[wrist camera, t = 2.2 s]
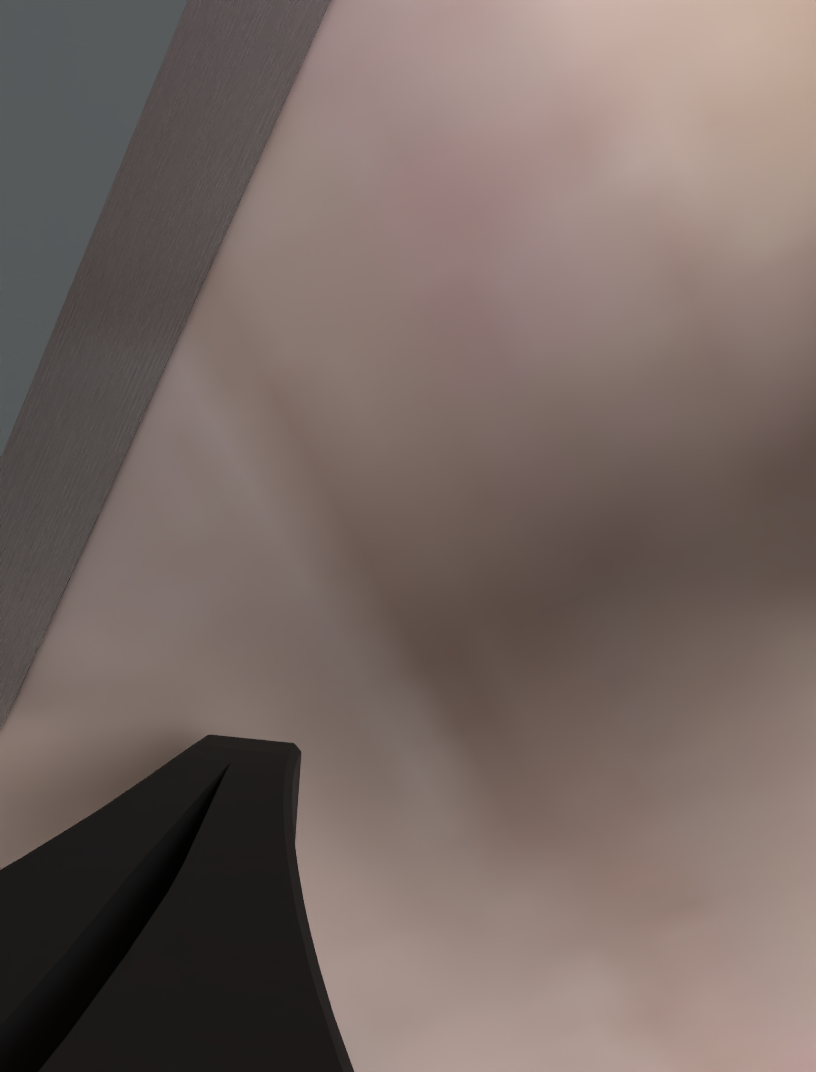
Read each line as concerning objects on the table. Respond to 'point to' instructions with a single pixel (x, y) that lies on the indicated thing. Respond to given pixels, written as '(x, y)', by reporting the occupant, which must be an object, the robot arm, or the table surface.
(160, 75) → the hinged leg
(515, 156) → the table surface
